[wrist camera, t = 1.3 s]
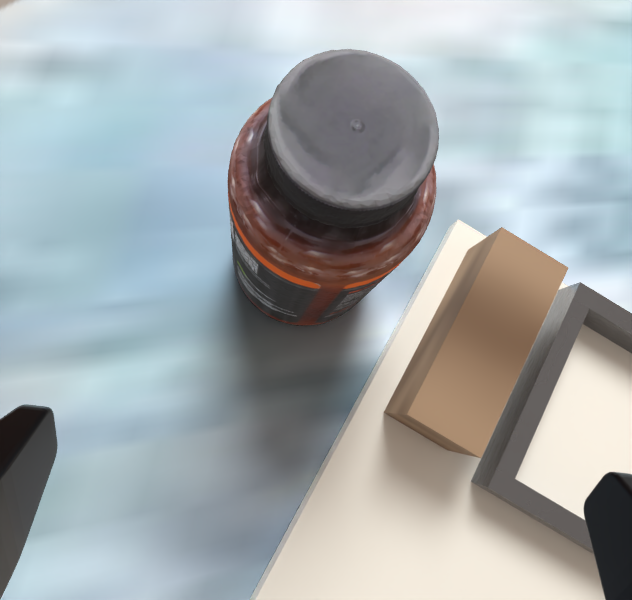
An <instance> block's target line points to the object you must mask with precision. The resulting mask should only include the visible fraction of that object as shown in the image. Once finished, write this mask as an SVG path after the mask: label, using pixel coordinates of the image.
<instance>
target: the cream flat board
mask: <svg viewBox="0 0 632 600" xmlns="http://www.w3.org/2000/svg"><path fill="white" fill-rule="evenodd" d="M485 238H486V236H485V235H483V234H481V233H480V232H478V231H476V230H475V229H473V228H472V227H470V226H468V225H467V224H465V223H463V222H462V221H460V220H457V221H456V222H455V223H454V224H452V225H451V226H450V227H449V229H448V230H447V232H446V234H445V236H444V238H443V240H442V242H441V244H440V245H439V247H438V249H437V251H436V253H435V255H434V257H433V258H432V260H431V262H430V264H429V266H428V268H427V270H426V271H425V273H424V275H423V277H422V279H421V281H420V283H419V285H418V286H417V288H416V290H415V292H414V294H413V296H412V298H411V299H410V301H409V303H408V305H407V307H406V309H405V311H404V313H403V314H402V316H401V318H400V320H399V322H398V324H397V326H396V327H395V329H394V331H393V333H392V335H391V337H390V339H389V340H388V342H387V344H386V346H385V348H384V350H383V352H382V354H381V355H380V357H379V359H378V361H377V363H376V365H375V367H374V368H373V370H372V372H371V374H370V376H369V378H368V380H367V381H366V383H365V385H364V387H363V389H362V391H361V393H360V395H359V396H358V398H357V400H356V402H355V404H354V406H353V408H352V409H351V411H350V413H349V415H348V417H347V419H346V421H345V422H344V424H343V426H342V428H341V430H340V432H339V434H338V436H337V437H336V439H335V441H334V443H333V445H332V447H331V449H330V450H329V452H328V454H327V456H326V458H325V460H324V462H323V463H322V465H321V467H320V469H319V471H318V473H317V475H316V477H315V478H314V480H313V482H312V484H311V486H310V488H309V490H308V491H307V493H306V495H305V497H304V499H303V501H302V503H301V505H300V506H299V508H298V510H297V512H296V514H295V516H294V518H293V519H292V521H291V523H290V525H289V527H288V529H287V531H286V532H285V534H284V536H283V538H282V540H281V542H280V544H279V546H278V547H277V549H276V551H275V553H274V555H273V557H272V559H271V560H270V562H269V564H268V566H267V568H266V570H265V572H264V573H263V575H262V577H261V579H260V581H259V583H258V585H257V587H256V588H255V590H254V592H253V594H252V596H251V598H250V600H605V596H604V592H603V589H602V585H601V581H600V577H599V573H598V569H597V565H596V561H595V557H594V554H592V553H591V552H589V551H587V550H586V549H584V548H582V547H581V546H579V545H577V544H575V543H574V542H572V541H570V540H569V539H567V538H565V537H564V536H562V535H560V534H559V533H557V532H555V531H553V530H552V529H550V528H548V527H547V526H545V525H543V524H542V523H540V522H538V521H537V520H535V519H533V518H531V517H530V516H528V515H526V514H525V513H523V512H521V511H520V510H518V509H516V508H515V507H513V506H511V505H509V504H508V503H506V502H504V501H503V500H501V499H499V498H498V497H496V496H494V495H493V494H491V493H489V492H487V491H486V490H484V489H482V488H481V487H479V486H477V485H476V484H474V483H472V482H471V480H472V478H473V475H474V473H475V471H476V469H477V467H478V464H479V462H480V460H481V458H482V457H481V458H478V457H473V456H469V455H465V454H461V453H457V452H452V451H448V450H446V449H444V448H443V447H441V446H439V445H437V444H436V443H434V442H432V441H431V440H429V439H427V438H426V437H424V436H422V435H421V434H419V433H417V432H416V431H414V430H412V429H410V428H409V427H407V426H405V425H404V424H402V423H400V422H399V421H397V420H395V419H394V418H392V417H390V416H389V415H387V414H385V413H383V412H384V411H385V409H386V407H387V405H388V403H389V401H390V399H391V397H392V395H393V393H394V391H395V389H396V387H397V386H398V384H399V382H400V380H401V378H402V376H403V374H404V372H405V370H406V368H407V366H408V364H409V362H410V360H411V359H412V357H413V355H414V353H415V351H416V349H417V347H418V345H419V343H420V341H421V339H422V337H423V335H424V334H425V332H426V330H427V328H428V326H429V324H430V322H431V320H432V318H433V316H434V314H435V312H436V310H437V308H438V307H439V305H440V303H441V301H442V299H443V297H444V295H445V293H446V291H447V289H448V287H449V285H450V283H451V282H452V280H453V278H454V276H455V274H456V272H457V270H458V268H459V266H460V264H461V262H462V260H463V258H464V256H465V255H466V253H467V251H468V249H470V248H471V247H473V246H474V245H476V244H477V243H479V242H480V241H482V240H483V239H485ZM565 287H568V286H567V285H566V284H564V283H561V285H560V287H559V289H558V290H560V289H562V288H565ZM554 299H555V298H554ZM553 301H554V300H553ZM549 310H550V309H549ZM548 312H549V311H548ZM547 314H548V313H547ZM543 323H544V322H543ZM542 325H543V324H542ZM538 334H539V333H538ZM537 336H538V335H537ZM536 338H537V337H536ZM532 347H533V346H532ZM531 349H532V348H531ZM527 358H528V357H527ZM526 360H527V359H526ZM525 362H526V361H525ZM521 371H522V370H521ZM520 373H521V372H520ZM516 382H517V381H516ZM515 384H516V383H515ZM514 386H515V385H514ZM510 395H511V394H510ZM509 397H510V396H509ZM505 406H506V405H505ZM504 408H505V407H504ZM503 410H504V409H503ZM499 419H500V418H499ZM498 421H499V420H498ZM494 430H495V429H494ZM493 432H494V431H493ZM492 434H493V433H492ZM488 443H489V442H488ZM487 445H488V444H487ZM483 454H484V453H483ZM482 456H483V455H482ZM609 472H620V473H628V474H632V353H630V352H628V351H627V350H625V349H623V348H622V347H620V346H618V345H617V344H615V343H613V342H612V341H610V340H608V339H607V338H605V337H604V336H602V335H600V334H599V333H597V332H595V331H594V330H592V329H590V328H589V327H587V326H585V325H584V324H582V327H581V329H580V331H579V333H578V336H577V338H576V340H575V343H574V345H573V347H572V349H571V352H570V354H569V356H568V359H567V361H566V363H565V365H564V368H563V370H562V372H561V375H560V377H559V379H558V381H557V384H556V386H555V388H554V391H553V393H552V395H551V398H550V400H549V402H548V404H547V407H546V409H545V411H544V414H543V416H542V418H541V420H540V423H539V425H538V427H537V430H536V432H535V434H534V436H533V439H532V441H531V443H530V446H529V448H528V450H527V452H526V455H525V457H524V459H523V462H522V464H521V466H520V468H519V471H518V473H517V475H516V478H515V479H516V480H518V481H520V482H521V483H523V484H525V485H527V486H528V487H530V488H532V489H533V490H535V491H537V492H538V493H540V494H542V495H543V496H545V497H547V498H548V499H550V500H552V501H554V502H555V503H557V504H559V505H560V506H562V507H564V508H565V509H567V510H569V511H570V512H572V513H574V514H575V515H577V516H579V517H580V518H582V519H584V520H585V517H584V503H585V500H586V498H587V497H588V496H589V494H590V493H591V492H592V490H593V489H594V488H595V486H596V485H597V484H598V482H599V481H600V480H601V479H602V477H603V476H604V475H605V474H606V473H609Z"/></svg>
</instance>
